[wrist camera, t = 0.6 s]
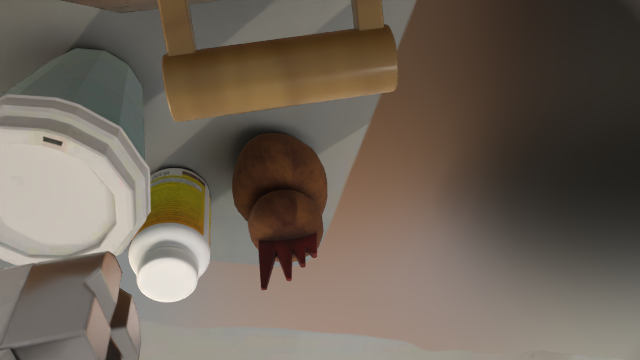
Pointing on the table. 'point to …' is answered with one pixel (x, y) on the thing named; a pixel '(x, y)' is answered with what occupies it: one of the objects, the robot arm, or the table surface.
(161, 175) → the supplement bottle
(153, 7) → the lid
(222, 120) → the table surface
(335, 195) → the table surface
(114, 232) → the disposable coffee cup
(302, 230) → the wooden figurine
